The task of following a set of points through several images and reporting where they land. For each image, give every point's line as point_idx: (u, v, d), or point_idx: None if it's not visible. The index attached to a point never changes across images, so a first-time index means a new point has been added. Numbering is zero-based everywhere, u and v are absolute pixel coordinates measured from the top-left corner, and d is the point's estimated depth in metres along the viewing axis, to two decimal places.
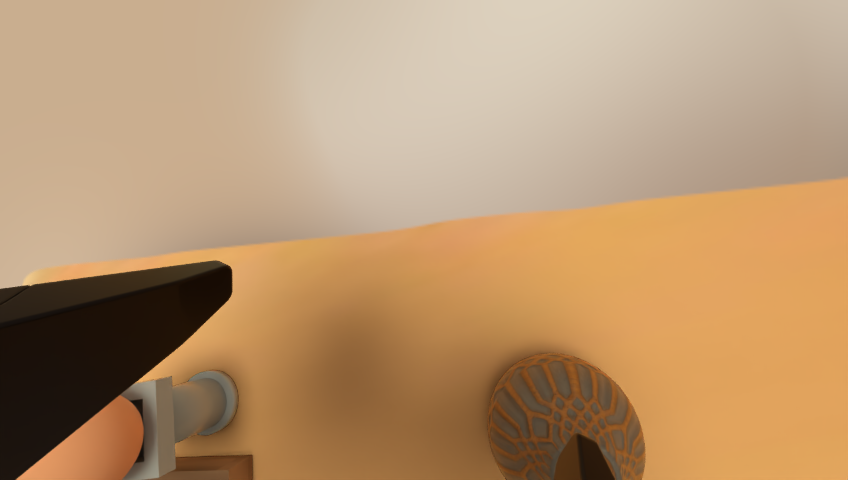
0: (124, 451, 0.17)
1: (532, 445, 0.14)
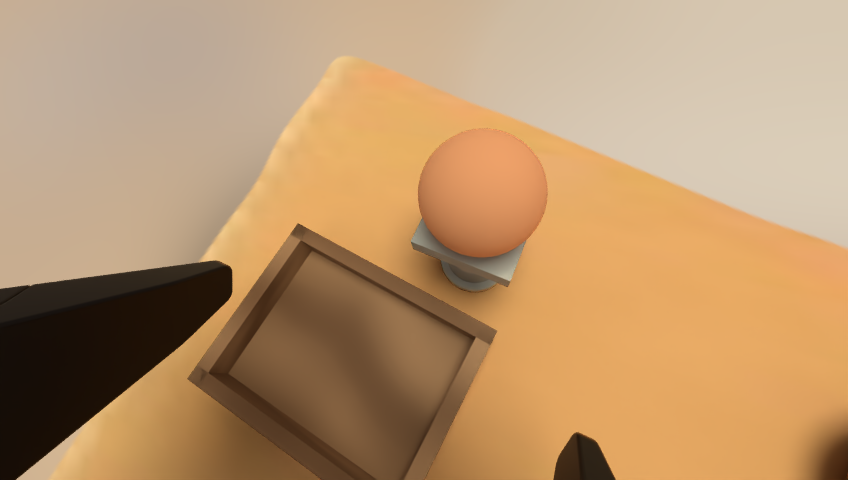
0: (536, 227, 0.14)
1: None
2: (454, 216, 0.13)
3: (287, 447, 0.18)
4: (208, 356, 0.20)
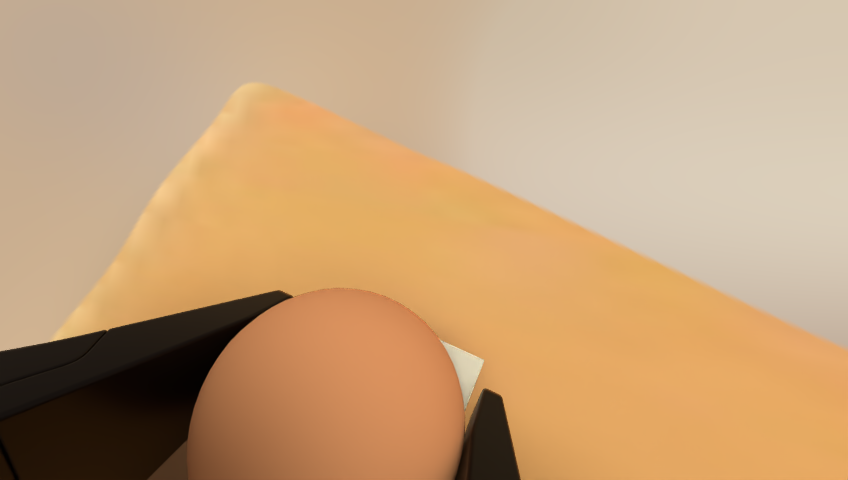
0: None
1: None
2: None
3: None
4: None
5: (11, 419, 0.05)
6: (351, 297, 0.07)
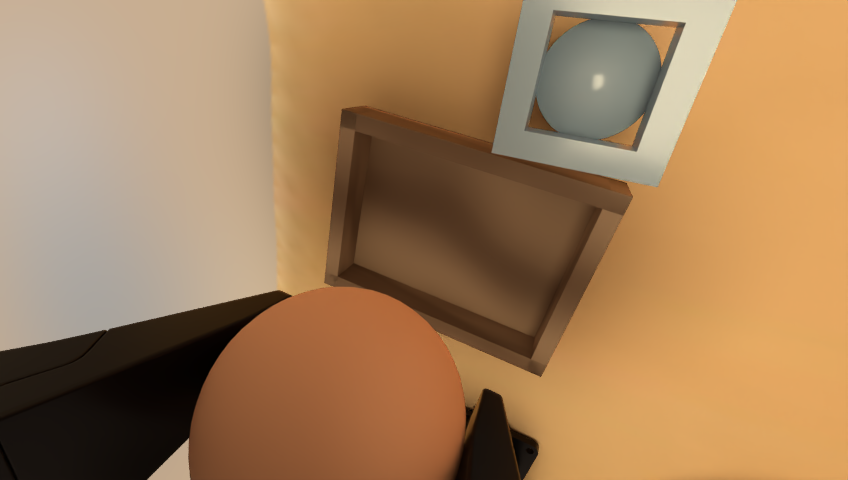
0: None
1: None
2: None
3: None
4: (330, 263, 0.21)
5: (11, 419, 0.05)
6: (352, 295, 0.07)
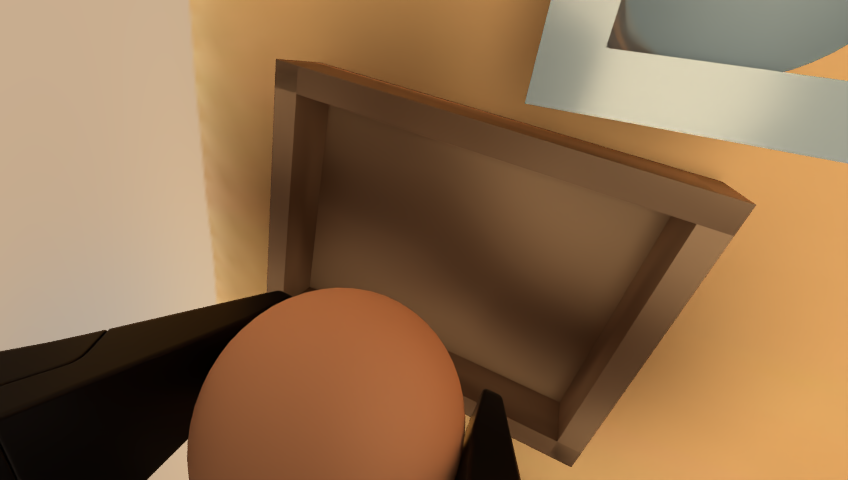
0: None
1: None
2: None
3: None
4: (271, 289, 0.15)
5: (12, 419, 0.05)
6: (351, 296, 0.07)
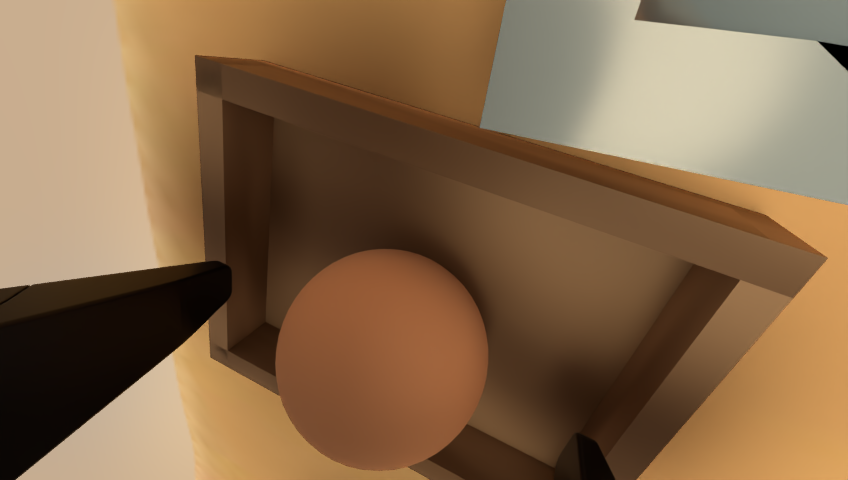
0: None
1: None
2: (312, 433, 0.07)
3: None
4: (214, 330, 0.13)
5: None
6: (399, 252, 0.09)
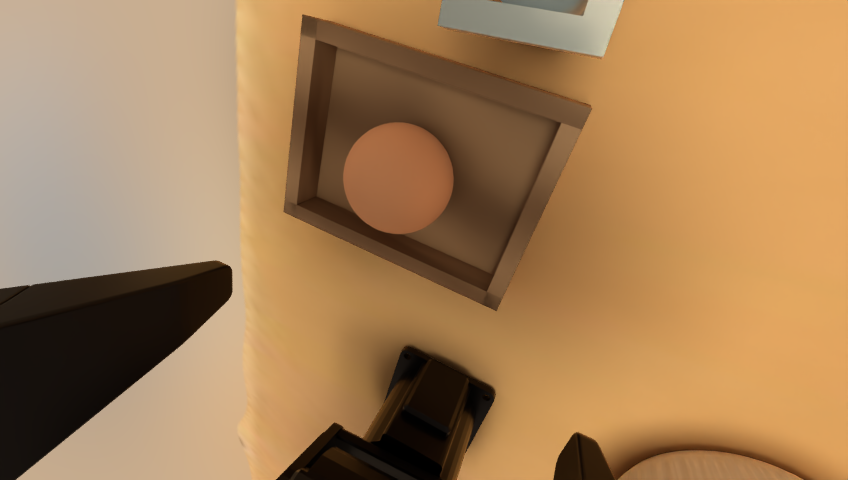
0: (443, 209, 0.17)
1: None
2: (366, 196, 0.15)
3: (386, 256, 0.20)
4: (289, 190, 0.20)
5: None
6: (408, 123, 0.16)
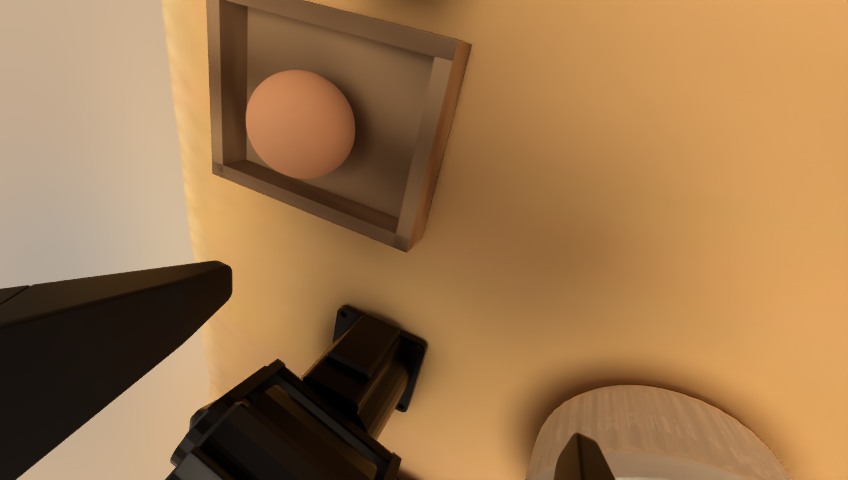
0: (343, 151, 0.17)
1: None
2: (262, 136, 0.16)
3: (305, 207, 0.21)
4: (215, 151, 0.21)
5: None
6: None
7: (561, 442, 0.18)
